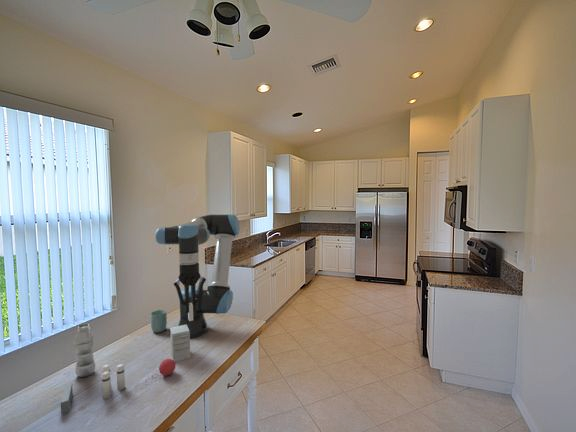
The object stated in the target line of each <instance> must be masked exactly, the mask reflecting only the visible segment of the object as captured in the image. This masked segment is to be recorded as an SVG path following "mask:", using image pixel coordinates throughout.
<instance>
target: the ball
mask: <svg viewBox="0 0 576 432" xmlns="http://www.w3.org/2000/svg"><path fill="white" fill-rule="evenodd" d="M158 370H159V373H160V374H161V375H163V376H170V375H171V374H173V373H174V371H175V370H176V362H174V361H173V359H172V358H165V359H163V360H162V361H161V362H160V364H159V366H158Z"/></svg>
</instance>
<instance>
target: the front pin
mask: <svg viewBox="0 0 576 432" xmlns="http://www.w3.org/2000/svg"><path fill="white" fill-rule="evenodd" d="M125 379H126V377H125V365H124V364H123V363H120V364H117V365H116V383H117V384H116V385H117V389H116V390H118V391H123V390H125V388H126V384H125V383H126V380H125Z"/></svg>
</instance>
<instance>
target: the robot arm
mask: <svg viewBox="0 0 576 432" xmlns="http://www.w3.org/2000/svg"><path fill="white" fill-rule="evenodd" d="M239 234H240V223H239V218H238V216H237V215H235V214H229V213H228V214H207V215H202V216H199V217H194V218H193V219H192V220H191V221H188V222H185V223H181V224H177V225H173V226H162V227H159V228H158V229H156V231H155V241H156V243H158V244H159V245H178V258H179V259H178V263H179V265H178V266H179V267H178V268H179V275H178V279H176V280H173V281H172V284H173V286H174V287H175V290H176V292H177V296H178V299H179V322H178V324H177V326H181V325H187V326H188V328H189V331H190V339H194V338H198V337H200V336H203V335H205V334H206V332H207V331H208V324H207V321H206V318H205V315H204V314H216V315H217V314H218V315H220V314H227V313H228V312H229V311H230V309H231V307H232V304H233V300H234V299H233V298H234V296H233V295H234V293H233V291H232V290H231V287H230V285H229V284H228V282H229V273H230V263H231V256H232V255H231V254H232V247H233V241H234V240H235V239H236V236H238V235H239ZM212 235H213V237H214V238H215V240H216V242H215V249H214V259H213V266H212V271H211V272H212V273H211V274H212V275H211V281H210V283H209V284H208V285H207V288H206V289H204V284H205V283H206V281H207V278H205V277H204V276H201V273H200V264H199V259H200V258H199V246H201V245H203V244H205V243H207V242H208V241H209V240H210V236H212ZM198 281H199V283H198ZM197 283H198V285H196V284H197ZM180 284H182V285H183V287H184V289H182V290H181V287H180Z"/></svg>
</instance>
